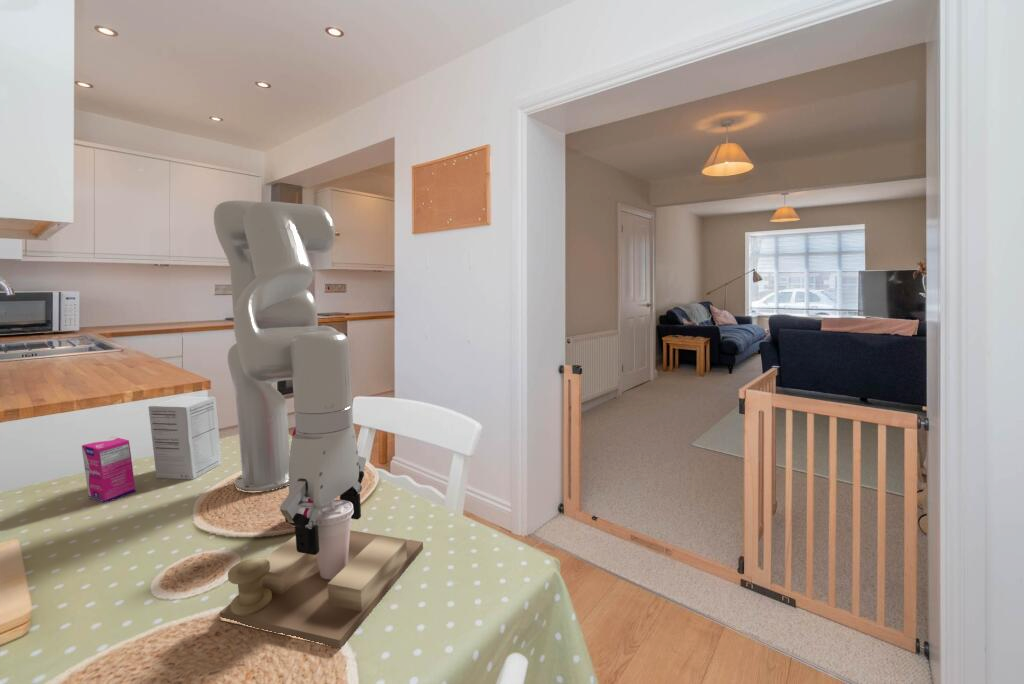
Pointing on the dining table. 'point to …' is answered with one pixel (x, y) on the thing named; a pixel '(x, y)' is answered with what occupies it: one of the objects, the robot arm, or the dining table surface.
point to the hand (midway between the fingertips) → (331, 533)
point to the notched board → (318, 588)
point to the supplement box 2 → (185, 437)
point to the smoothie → (333, 537)
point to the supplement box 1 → (108, 468)
